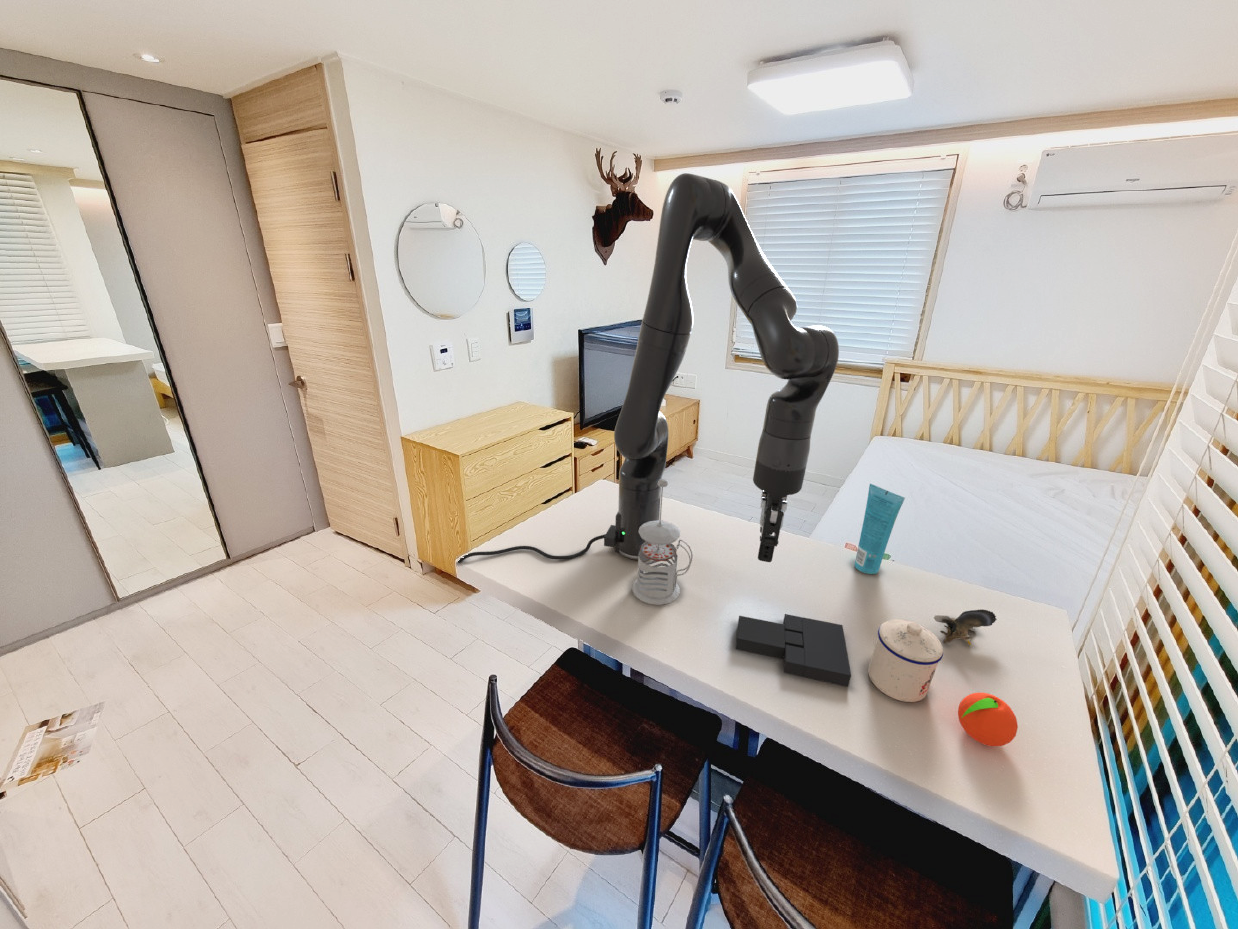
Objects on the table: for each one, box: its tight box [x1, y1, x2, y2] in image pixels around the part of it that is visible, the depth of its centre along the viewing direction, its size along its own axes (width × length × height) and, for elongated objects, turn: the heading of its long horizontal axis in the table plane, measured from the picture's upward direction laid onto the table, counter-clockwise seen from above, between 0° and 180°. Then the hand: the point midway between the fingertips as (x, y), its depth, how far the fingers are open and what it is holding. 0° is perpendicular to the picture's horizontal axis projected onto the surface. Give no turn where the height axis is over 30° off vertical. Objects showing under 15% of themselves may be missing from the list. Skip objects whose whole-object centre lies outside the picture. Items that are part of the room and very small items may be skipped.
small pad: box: [735, 615, 803, 660], centre depth 89 cm, size 11×6×2 cm, turn 74°
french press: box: [631, 478, 694, 606], centre depth 97 cm, size 10×12×25 cm
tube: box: [854, 483, 906, 575], centre depth 107 cm, size 7×5×19 cm, turn 39°
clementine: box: [957, 692, 1019, 747], centre depth 72 cm, size 8×7×7 cm
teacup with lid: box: [867, 619, 944, 703], centre depth 81 cm, size 12×9×12 cm
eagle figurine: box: [933, 609, 998, 646], centre depth 91 cm, size 8×7×9 cm
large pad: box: [782, 613, 852, 688], centre depth 87 cm, size 10×12×2 cm
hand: (765, 546), depth 85 cm, fingers open, 8 cm apart
